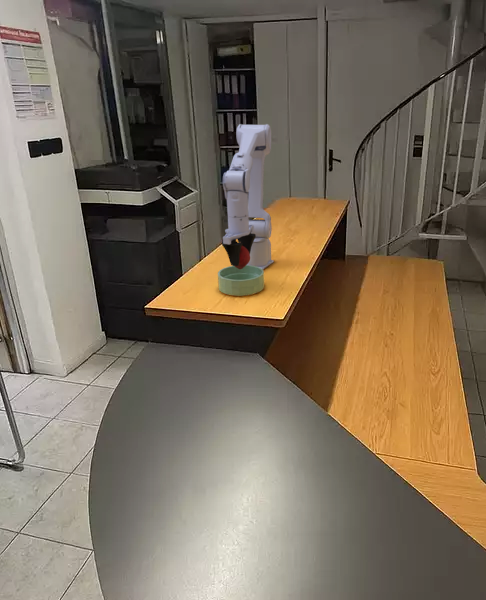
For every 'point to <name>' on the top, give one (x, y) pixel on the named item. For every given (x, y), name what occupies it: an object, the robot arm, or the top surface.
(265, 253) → the robot arm
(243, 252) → the onion
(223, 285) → the bowl
